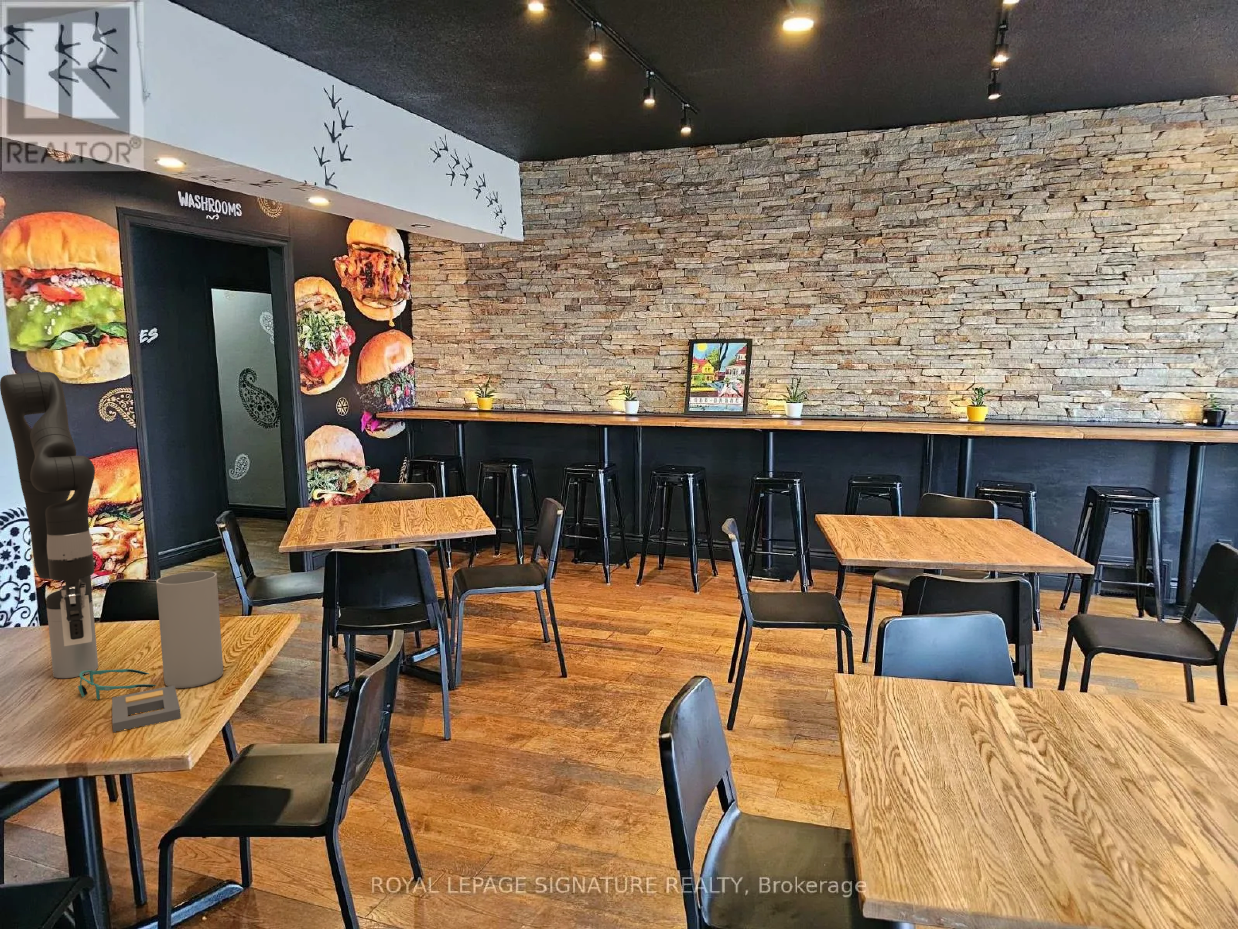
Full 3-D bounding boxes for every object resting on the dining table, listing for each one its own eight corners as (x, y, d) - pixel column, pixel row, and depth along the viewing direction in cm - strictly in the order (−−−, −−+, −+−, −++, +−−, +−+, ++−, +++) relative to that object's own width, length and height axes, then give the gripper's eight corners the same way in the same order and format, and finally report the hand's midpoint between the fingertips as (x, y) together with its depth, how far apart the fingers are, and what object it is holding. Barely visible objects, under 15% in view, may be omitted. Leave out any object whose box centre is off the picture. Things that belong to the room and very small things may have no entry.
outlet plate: (112, 706, 170) (111, 696, 170) (175, 693, 177) (174, 684, 176) (113, 733, 157) (112, 722, 157) (180, 718, 163) (179, 707, 163)
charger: (65, 641, 160) (61, 596, 159) (92, 636, 162) (88, 593, 161) (64, 646, 156) (60, 601, 155) (91, 642, 159) (87, 597, 158)
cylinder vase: (161, 677, 187) (153, 576, 184) (218, 666, 194) (211, 568, 191) (167, 693, 177) (159, 587, 174) (227, 681, 184) (220, 578, 181)
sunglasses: (74, 688, 182) (75, 667, 181) (147, 678, 191) (148, 658, 191) (81, 706, 171) (81, 684, 171) (158, 695, 180) (159, 674, 180)
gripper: (50, 550, 161) (57, 630, 163) (45, 563, 149) (53, 648, 151) (93, 545, 165) (100, 623, 167) (91, 557, 154) (99, 641, 155)
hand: (77, 635), depth 159 cm, fingers closed on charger, 4 cm apart
